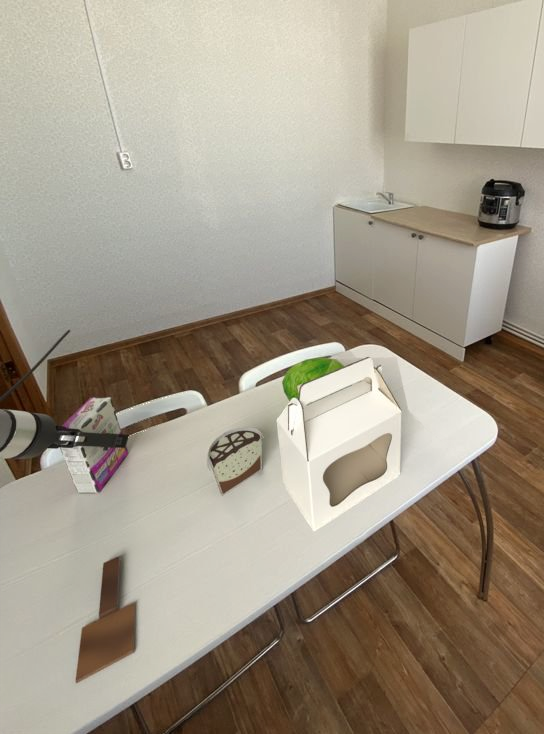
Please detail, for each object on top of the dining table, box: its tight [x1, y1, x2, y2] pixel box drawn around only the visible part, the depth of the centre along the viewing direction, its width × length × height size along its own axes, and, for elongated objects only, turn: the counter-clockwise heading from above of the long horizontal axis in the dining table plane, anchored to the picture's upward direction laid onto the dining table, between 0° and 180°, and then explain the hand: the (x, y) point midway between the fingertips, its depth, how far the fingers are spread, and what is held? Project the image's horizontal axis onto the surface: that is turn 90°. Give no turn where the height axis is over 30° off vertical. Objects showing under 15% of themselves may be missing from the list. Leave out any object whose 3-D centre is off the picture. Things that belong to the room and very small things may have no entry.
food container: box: [206, 426, 265, 497], centre depth 83 cm, size 12×6×10 cm, turn 135°
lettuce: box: [281, 356, 353, 406], centre depth 103 cm, size 17×20×17 cm
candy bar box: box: [59, 396, 129, 494], centre depth 83 cm, size 11×5×16 cm, turn 179°
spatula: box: [75, 555, 136, 684], centre depth 60 cm, size 16×7×1 cm, turn 28°
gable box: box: [275, 356, 403, 532], centre depth 78 cm, size 22×13×28 cm, turn 126°
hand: (108, 439), depth 87 cm, fingers open, 8 cm apart
